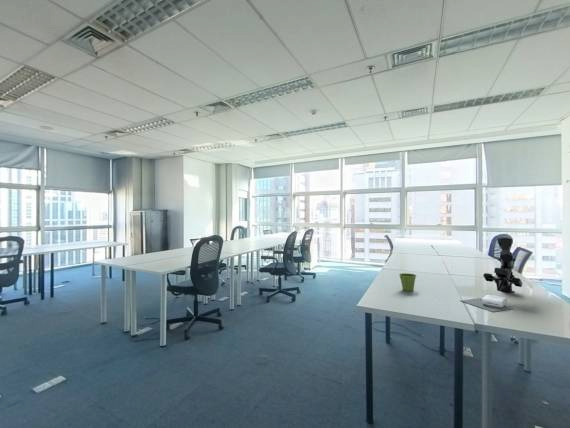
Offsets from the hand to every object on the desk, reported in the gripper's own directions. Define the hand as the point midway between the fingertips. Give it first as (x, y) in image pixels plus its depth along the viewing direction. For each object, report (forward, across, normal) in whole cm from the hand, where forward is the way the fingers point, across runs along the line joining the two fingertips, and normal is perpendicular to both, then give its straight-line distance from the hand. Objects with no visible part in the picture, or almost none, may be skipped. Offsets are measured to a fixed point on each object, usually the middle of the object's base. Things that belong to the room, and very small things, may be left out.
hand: (498, 290), depth 163 cm
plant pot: (+21, -46, -11) cm, 52 cm away
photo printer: (+6, 0, 0) cm, 6 cm away
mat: (+14, -2, -4) cm, 15 cm away
